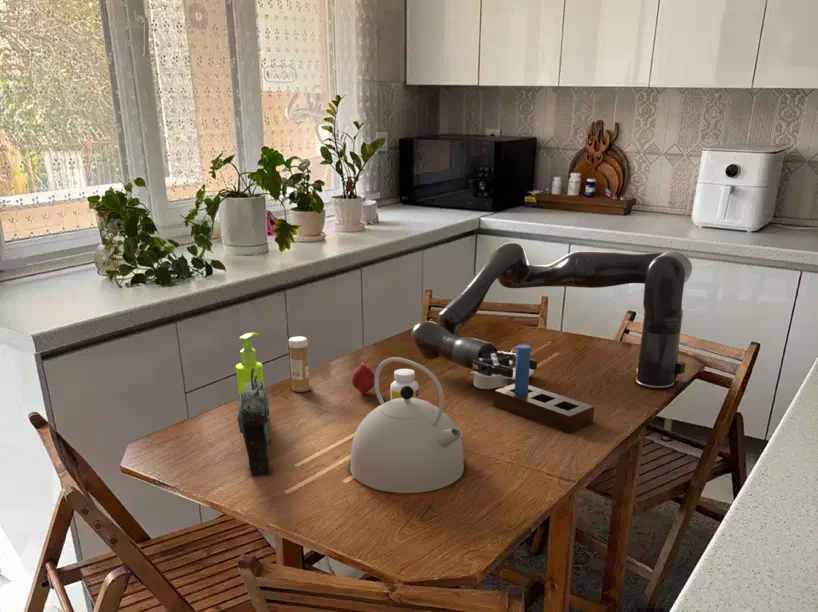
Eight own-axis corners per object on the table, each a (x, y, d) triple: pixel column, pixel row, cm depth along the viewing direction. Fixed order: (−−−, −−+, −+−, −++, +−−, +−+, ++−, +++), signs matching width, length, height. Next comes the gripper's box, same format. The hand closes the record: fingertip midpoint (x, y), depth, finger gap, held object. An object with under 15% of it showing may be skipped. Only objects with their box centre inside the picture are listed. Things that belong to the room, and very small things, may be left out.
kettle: (495, 468, 156) (500, 360, 147) (419, 509, 141) (419, 391, 132) (404, 434, 172) (404, 335, 163) (327, 468, 157) (321, 360, 148)
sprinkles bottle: (313, 389, 199) (310, 338, 193) (299, 393, 196) (295, 342, 190) (302, 385, 202) (299, 334, 196) (288, 389, 199) (284, 338, 193)
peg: (519, 403, 189) (523, 343, 183) (529, 406, 187) (533, 346, 181) (510, 406, 187) (514, 346, 181) (521, 410, 185) (524, 349, 179)
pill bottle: (416, 426, 176) (415, 377, 172) (388, 424, 177) (387, 375, 173) (421, 415, 182) (421, 368, 178) (394, 413, 183) (393, 366, 179)
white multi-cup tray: (514, 394, 195) (460, 385, 201) (538, 373, 209) (487, 365, 216) (514, 381, 193) (460, 373, 200) (538, 361, 208) (487, 353, 214)
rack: (518, 397, 193) (519, 381, 191) (592, 422, 178) (594, 406, 176) (493, 406, 188) (494, 390, 186) (568, 433, 172) (569, 416, 171)
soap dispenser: (274, 415, 183) (267, 332, 175) (257, 425, 177) (249, 340, 169) (253, 411, 185) (246, 329, 177) (235, 421, 179) (227, 337, 171)
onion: (380, 392, 197) (379, 361, 194) (366, 399, 192) (365, 368, 189) (361, 387, 200) (360, 357, 196) (347, 394, 195) (346, 364, 192)
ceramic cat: (274, 477, 153) (266, 381, 145) (240, 480, 152) (230, 383, 144) (273, 437, 171) (266, 349, 163) (243, 439, 170) (235, 351, 162)
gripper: (454, 345, 188) (504, 360, 177) (494, 333, 197) (544, 347, 186) (453, 374, 191) (503, 391, 180) (492, 362, 200) (542, 377, 189)
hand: (524, 369), depth 183 cm, fingers open, 8 cm apart
